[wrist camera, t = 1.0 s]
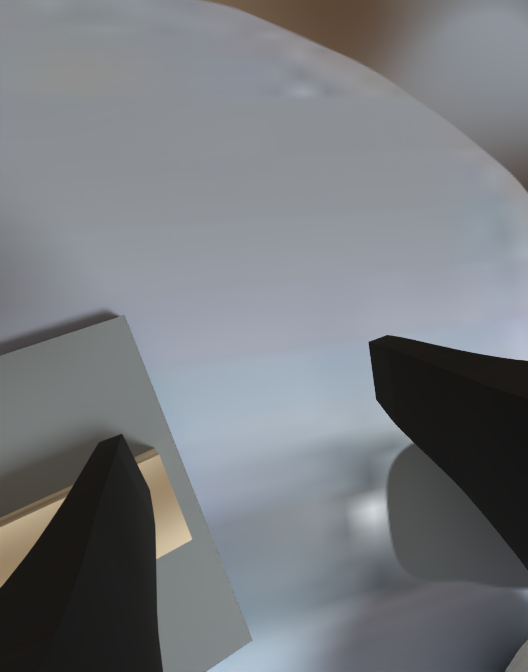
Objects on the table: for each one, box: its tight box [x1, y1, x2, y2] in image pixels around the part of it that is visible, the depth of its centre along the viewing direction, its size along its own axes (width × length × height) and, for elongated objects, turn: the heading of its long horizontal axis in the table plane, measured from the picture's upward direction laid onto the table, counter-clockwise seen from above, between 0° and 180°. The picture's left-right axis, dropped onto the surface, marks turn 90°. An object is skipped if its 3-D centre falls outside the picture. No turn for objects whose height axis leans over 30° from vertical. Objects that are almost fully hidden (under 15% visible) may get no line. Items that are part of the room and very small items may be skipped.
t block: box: [0, 448, 192, 588], centre depth 17 cm, size 12×12×3 cm
